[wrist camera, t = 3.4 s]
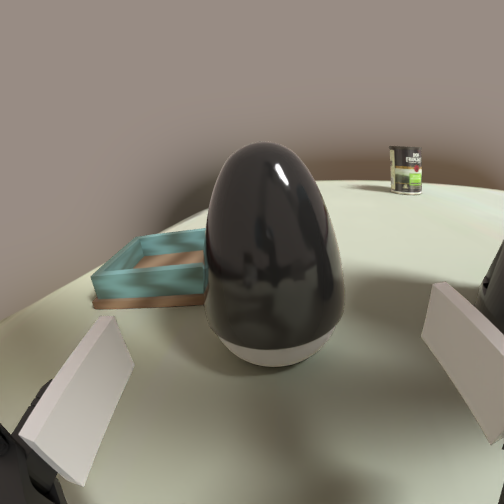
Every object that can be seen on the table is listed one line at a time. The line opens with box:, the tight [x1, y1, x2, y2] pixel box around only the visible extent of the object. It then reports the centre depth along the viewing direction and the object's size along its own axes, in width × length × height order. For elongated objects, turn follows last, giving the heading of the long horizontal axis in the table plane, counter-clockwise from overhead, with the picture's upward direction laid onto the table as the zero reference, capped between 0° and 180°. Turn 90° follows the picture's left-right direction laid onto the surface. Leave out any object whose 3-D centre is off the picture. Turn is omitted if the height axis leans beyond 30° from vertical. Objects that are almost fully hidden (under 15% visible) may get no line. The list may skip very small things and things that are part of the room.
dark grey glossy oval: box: [203, 141, 345, 367], centre depth 19 cm, size 10×10×15 cm
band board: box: [91, 228, 206, 309], centre depth 36 cm, size 16×16×4 cm
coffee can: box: [389, 146, 422, 195], centre depth 74 cm, size 10×10×14 cm
